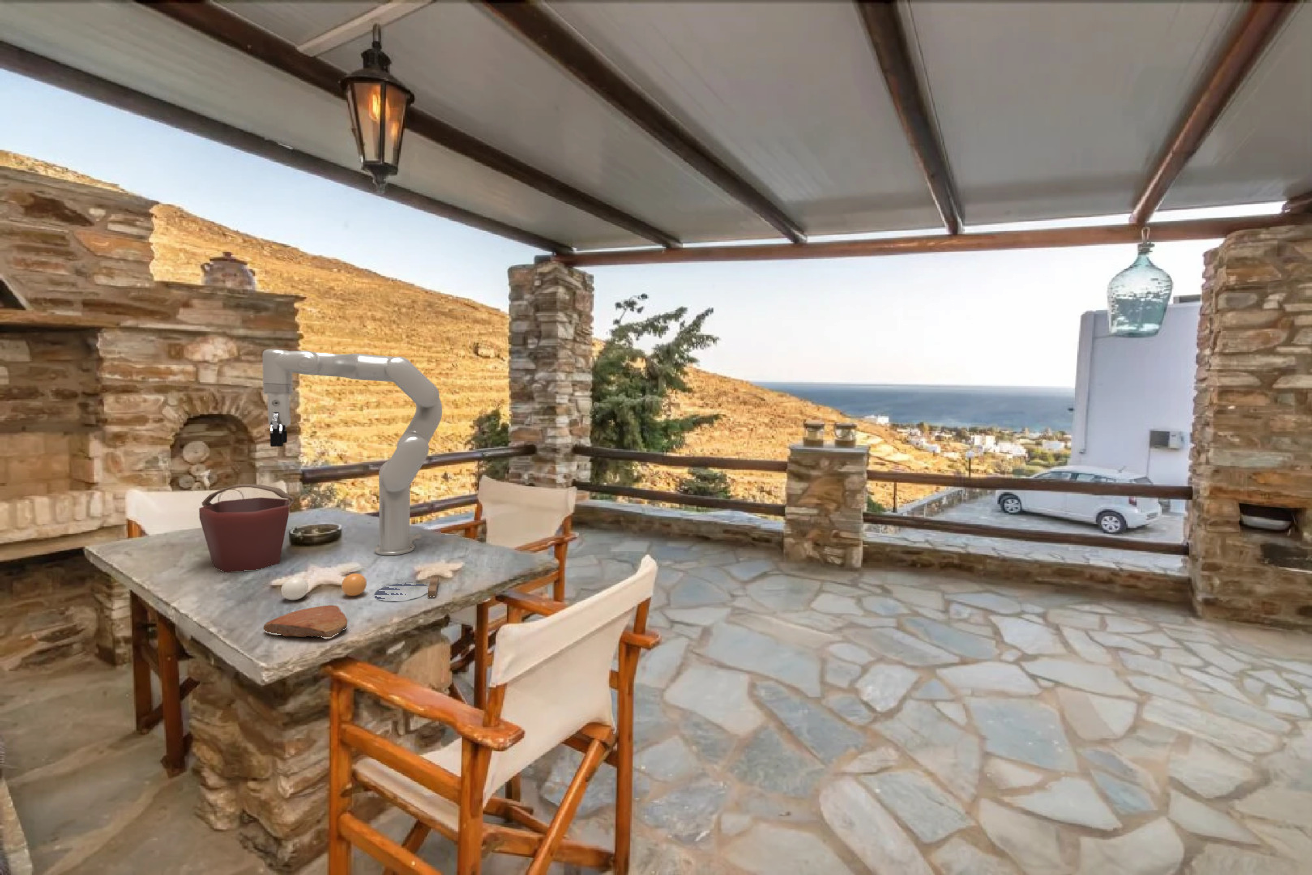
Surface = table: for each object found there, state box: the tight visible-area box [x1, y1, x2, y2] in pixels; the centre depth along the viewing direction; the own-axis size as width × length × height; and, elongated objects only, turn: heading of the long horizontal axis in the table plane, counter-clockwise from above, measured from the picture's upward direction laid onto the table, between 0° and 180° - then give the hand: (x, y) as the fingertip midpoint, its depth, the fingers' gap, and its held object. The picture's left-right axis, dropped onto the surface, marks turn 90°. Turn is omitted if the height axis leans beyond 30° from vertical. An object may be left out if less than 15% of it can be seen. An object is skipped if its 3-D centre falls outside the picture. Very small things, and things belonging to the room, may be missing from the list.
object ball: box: [341, 573, 368, 597], centre depth 148 cm, size 6×6×6 cm
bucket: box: [198, 483, 295, 573], centre depth 168 cm, size 24×22×25 cm
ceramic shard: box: [263, 604, 348, 638], centre depth 126 cm, size 15×6×15 cm
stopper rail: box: [427, 575, 440, 598], centre depth 154 cm, size 12×2×2 cm, turn 18°
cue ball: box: [280, 576, 309, 601], centre depth 144 cm, size 6×6×6 cm
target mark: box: [373, 582, 428, 600], centre depth 152 cm, size 14×14×1 cm
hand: (278, 444), depth 170 cm, fingers open, 9 cm apart
